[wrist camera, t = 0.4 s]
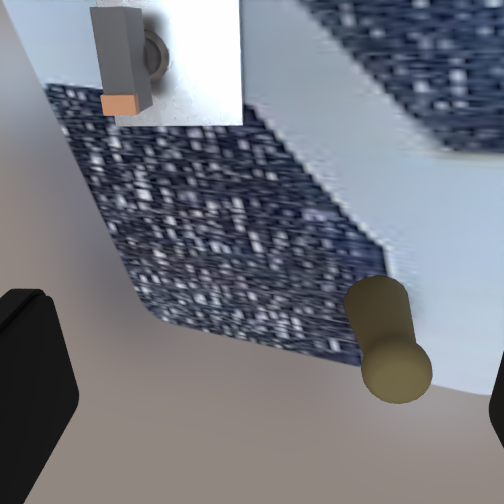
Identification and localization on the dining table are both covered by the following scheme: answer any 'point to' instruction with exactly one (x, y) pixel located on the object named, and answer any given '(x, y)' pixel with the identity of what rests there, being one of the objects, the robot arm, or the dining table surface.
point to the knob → (124, 59)
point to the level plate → (192, 62)
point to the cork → (387, 340)
